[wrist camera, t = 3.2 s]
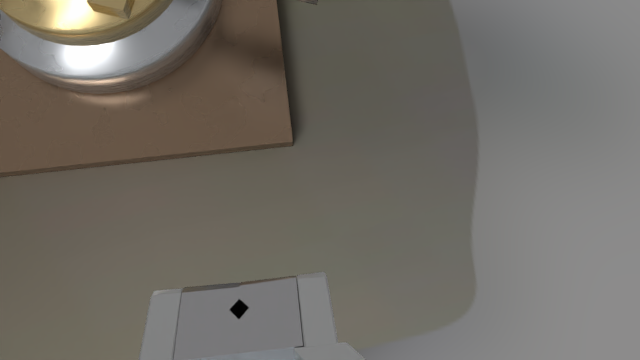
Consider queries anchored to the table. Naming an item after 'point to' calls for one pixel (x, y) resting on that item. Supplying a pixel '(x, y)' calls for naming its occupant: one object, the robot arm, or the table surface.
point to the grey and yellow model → (85, 18)
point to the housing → (145, 90)
